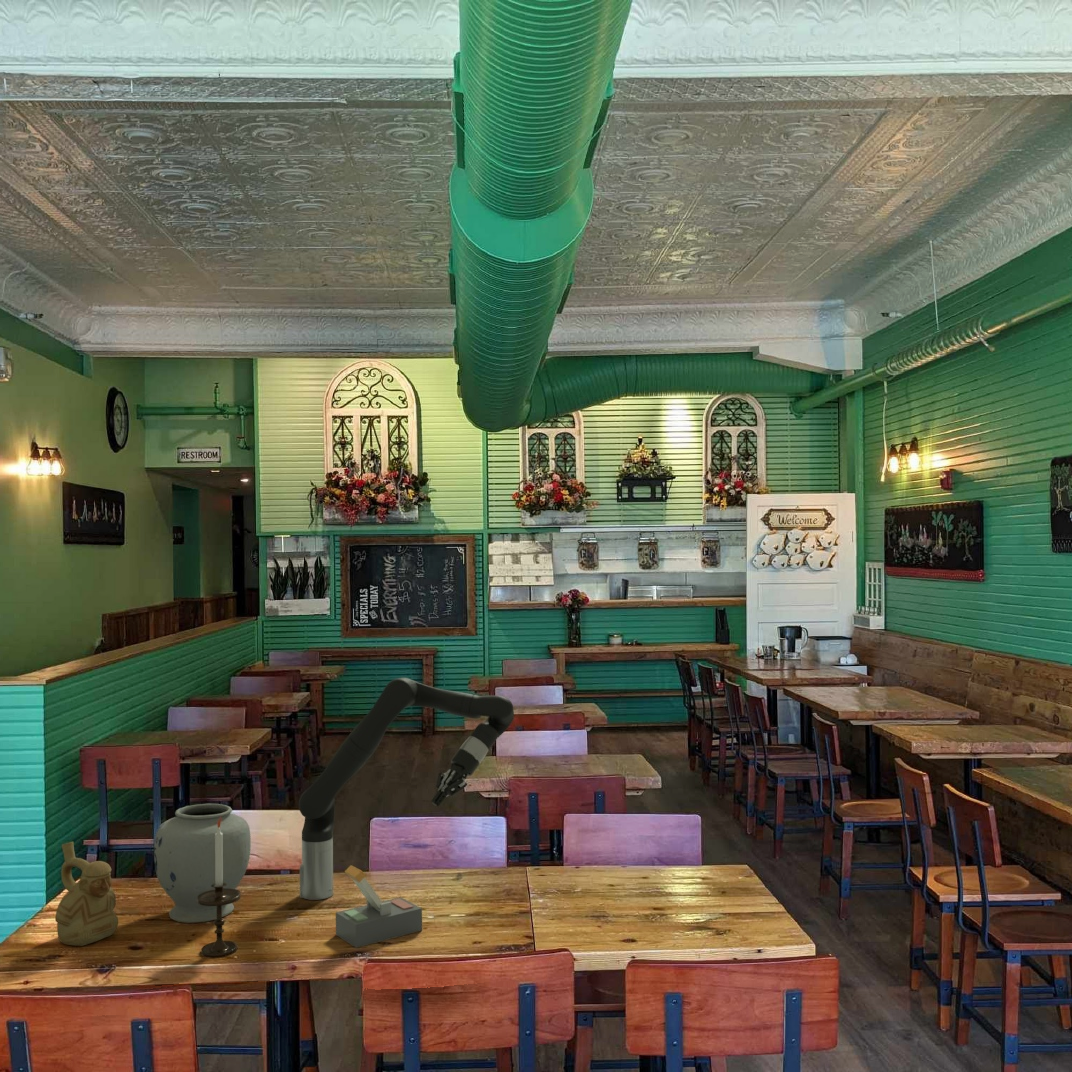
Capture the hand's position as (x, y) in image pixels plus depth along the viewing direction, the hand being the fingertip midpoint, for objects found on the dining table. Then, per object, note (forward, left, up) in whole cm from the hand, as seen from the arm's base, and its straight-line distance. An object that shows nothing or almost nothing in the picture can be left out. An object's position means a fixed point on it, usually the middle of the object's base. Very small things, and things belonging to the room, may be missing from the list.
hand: (434, 804), depth 286 cm
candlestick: (-51, -31, -32) cm, 67 cm away
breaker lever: (-13, -14, -25) cm, 31 cm away
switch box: (-13, -14, -32) cm, 37 cm away
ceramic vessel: (-92, -26, -32) cm, 100 cm away
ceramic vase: (-69, -4, -32) cm, 76 cm away
